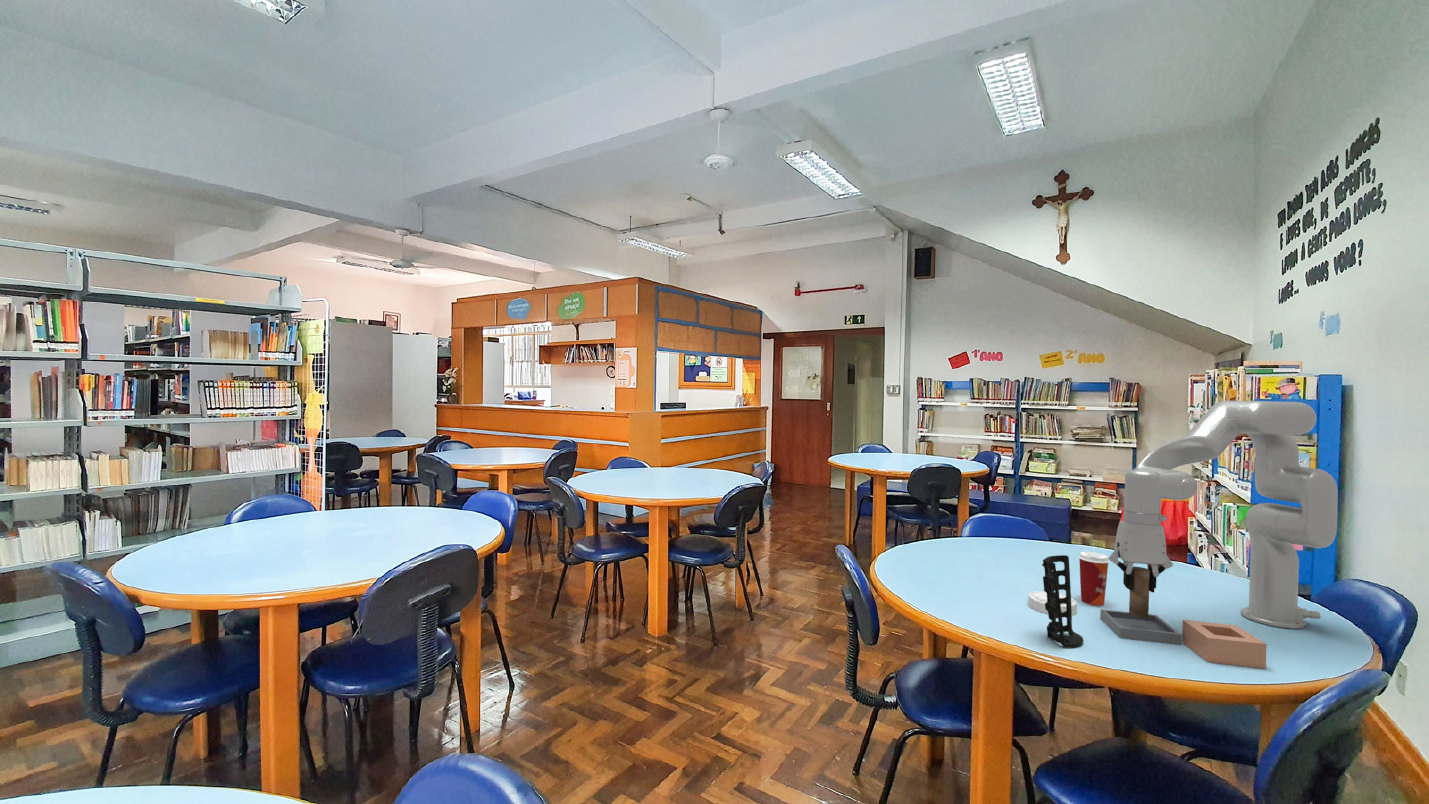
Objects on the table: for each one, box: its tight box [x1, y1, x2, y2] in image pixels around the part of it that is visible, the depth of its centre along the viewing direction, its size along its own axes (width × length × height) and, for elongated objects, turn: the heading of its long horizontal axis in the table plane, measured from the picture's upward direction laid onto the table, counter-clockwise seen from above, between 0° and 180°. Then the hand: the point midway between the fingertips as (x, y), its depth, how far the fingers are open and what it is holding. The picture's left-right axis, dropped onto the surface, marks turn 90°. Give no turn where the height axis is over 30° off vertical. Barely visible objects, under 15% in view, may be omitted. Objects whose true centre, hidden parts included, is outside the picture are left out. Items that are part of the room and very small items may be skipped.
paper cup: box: [1077, 551, 1111, 607], centre depth 169 cm, size 8×8×14 cm
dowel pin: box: [1128, 566, 1150, 618], centre depth 148 cm, size 4×4×12 cm
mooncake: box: [1027, 590, 1078, 616], centre depth 163 cm, size 12×12×4 cm
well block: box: [1181, 619, 1267, 670], centre depth 135 cm, size 11×11×6 cm
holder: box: [1041, 554, 1084, 649], centre depth 142 cm, size 11×8×20 cm
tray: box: [1099, 609, 1183, 646], centre depth 148 cm, size 13×13×2 cm
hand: (1139, 588), depth 148 cm, fingers closed on dowel pin, 4 cm apart
